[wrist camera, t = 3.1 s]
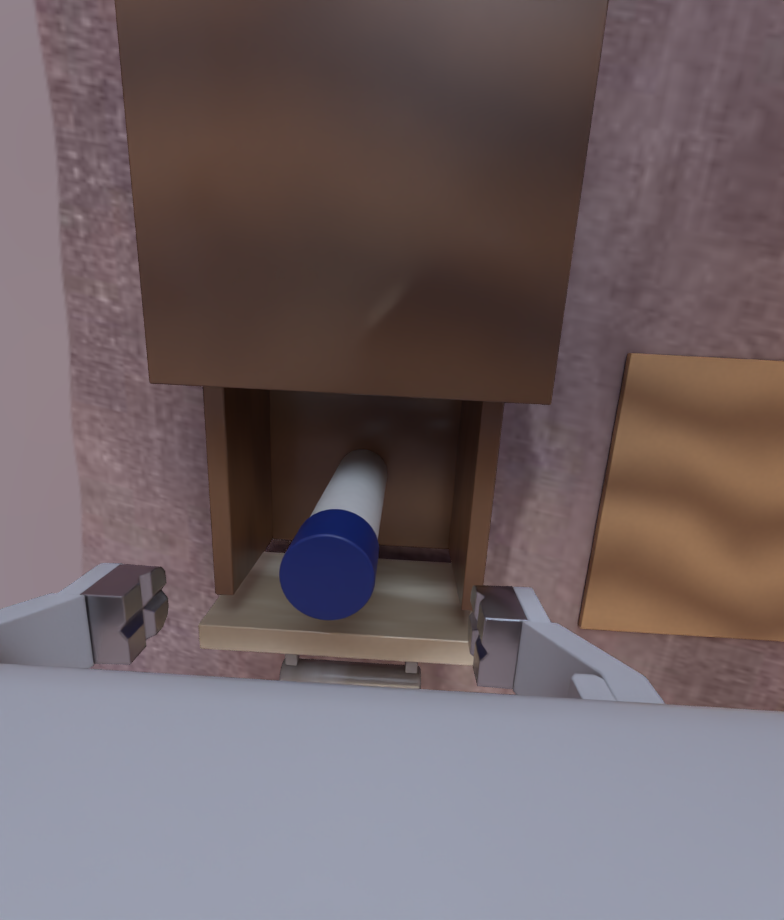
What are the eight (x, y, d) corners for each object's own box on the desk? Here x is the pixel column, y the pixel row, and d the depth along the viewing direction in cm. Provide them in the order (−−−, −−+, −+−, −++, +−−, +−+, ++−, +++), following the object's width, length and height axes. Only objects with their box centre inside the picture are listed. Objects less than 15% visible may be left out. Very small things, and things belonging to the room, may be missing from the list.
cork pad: (627, 353, 22) (631, 353, 22) (906, 367, 22) (915, 367, 22) (577, 624, 26) (580, 629, 26) (812, 639, 26) (819, 643, 26)
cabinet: (498, 383, 23) (551, 405, 15) (241, 370, 23) (148, 383, 15) (545, -38, 18) (660, -355, 10) (225, -50, 19) (79, -369, 10)
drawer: (462, 647, 26) (481, 750, 19) (255, 634, 26) (205, 731, 20) (502, 271, 21) (546, 236, 14) (242, 259, 21) (167, 219, 14)
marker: (373, 437, 22) (345, 518, 12) (398, 483, 22) (392, 599, 12) (326, 461, 22) (259, 559, 12) (352, 506, 23) (308, 635, 13)
